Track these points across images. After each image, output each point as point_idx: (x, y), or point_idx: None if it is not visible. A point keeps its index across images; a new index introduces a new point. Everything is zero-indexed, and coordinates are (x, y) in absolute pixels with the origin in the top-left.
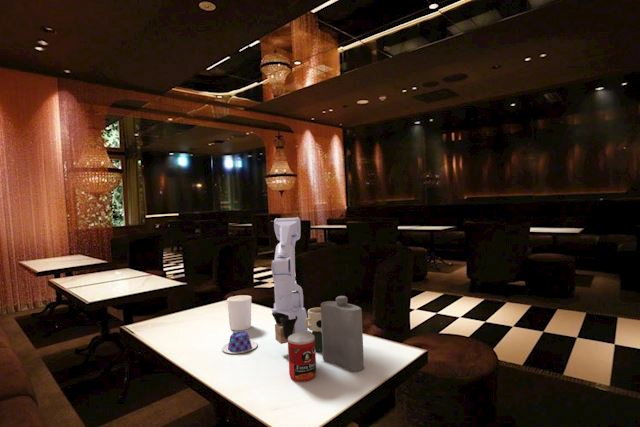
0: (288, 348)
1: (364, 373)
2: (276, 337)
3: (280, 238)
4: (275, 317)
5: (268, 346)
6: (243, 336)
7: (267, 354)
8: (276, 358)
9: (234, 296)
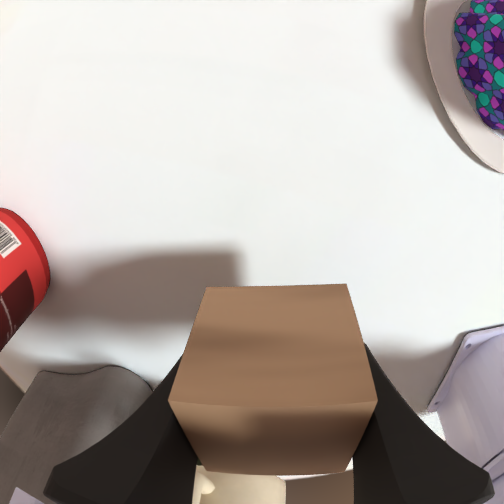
0: None
1: None
2: (323, 299)
3: None
4: (397, 483)
5: (441, 220)
6: None
7: (320, 167)
8: (217, 202)
9: None
